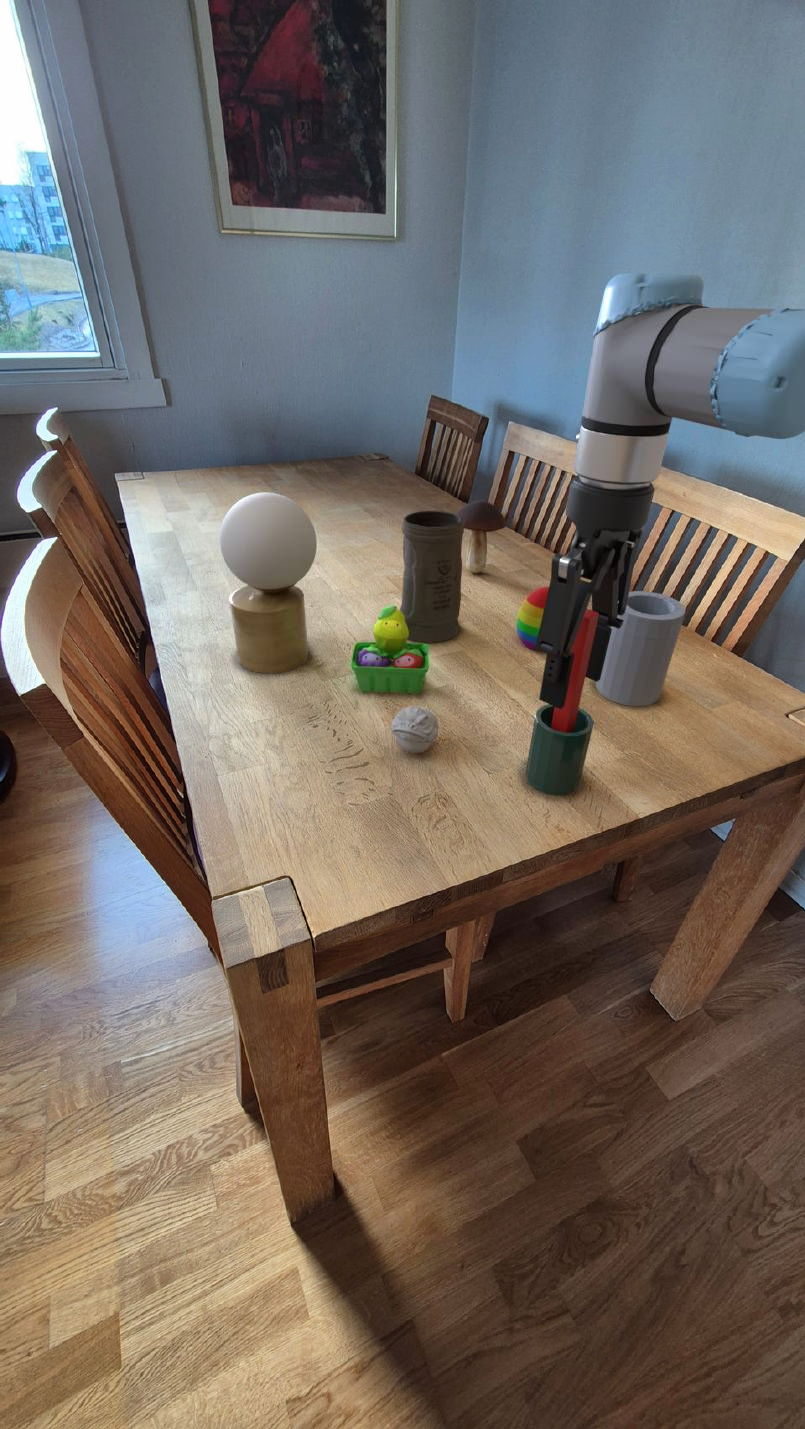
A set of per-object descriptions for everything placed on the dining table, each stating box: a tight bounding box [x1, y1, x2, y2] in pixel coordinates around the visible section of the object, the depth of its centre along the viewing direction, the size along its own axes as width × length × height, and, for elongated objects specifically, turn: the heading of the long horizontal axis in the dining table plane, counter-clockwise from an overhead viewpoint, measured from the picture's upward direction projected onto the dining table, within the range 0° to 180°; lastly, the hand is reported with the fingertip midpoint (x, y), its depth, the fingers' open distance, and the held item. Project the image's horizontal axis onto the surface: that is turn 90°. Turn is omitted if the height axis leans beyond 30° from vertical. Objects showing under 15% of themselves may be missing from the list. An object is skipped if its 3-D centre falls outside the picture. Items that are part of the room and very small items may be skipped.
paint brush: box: [551, 608, 599, 733], centre depth 71 cm, size 3×3×22 cm
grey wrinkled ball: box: [390, 705, 439, 754], centre depth 80 cm, size 6×7×7 cm
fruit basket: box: [350, 605, 430, 694], centre depth 93 cm, size 11×9×11 cm
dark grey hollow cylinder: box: [399, 510, 465, 643], centre depth 107 cm, size 15×11×20 cm
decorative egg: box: [516, 586, 549, 650], centre depth 104 cm, size 8×8×10 cm
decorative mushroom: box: [455, 499, 507, 574], centre depth 128 cm, size 11×11×15 cm
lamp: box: [219, 492, 318, 674], centre depth 96 cm, size 15×14×25 cm
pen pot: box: [525, 703, 595, 796], centre depth 75 cm, size 7×7×9 cm
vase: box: [595, 590, 687, 707], centre depth 91 cm, size 9×9×14 cm
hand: (570, 688), depth 70 cm, fingers open, 7 cm apart
